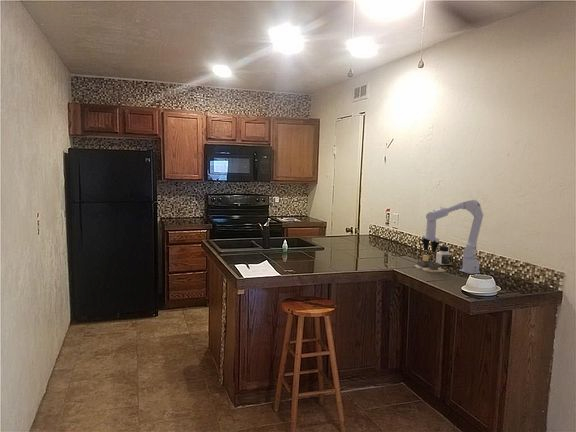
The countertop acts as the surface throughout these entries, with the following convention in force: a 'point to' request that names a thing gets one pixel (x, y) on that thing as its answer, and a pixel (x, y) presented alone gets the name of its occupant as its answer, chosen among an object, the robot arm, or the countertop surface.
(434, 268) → the manifold board
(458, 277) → the countertop surface
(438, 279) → the countertop surface
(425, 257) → the brass fitting
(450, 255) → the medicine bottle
